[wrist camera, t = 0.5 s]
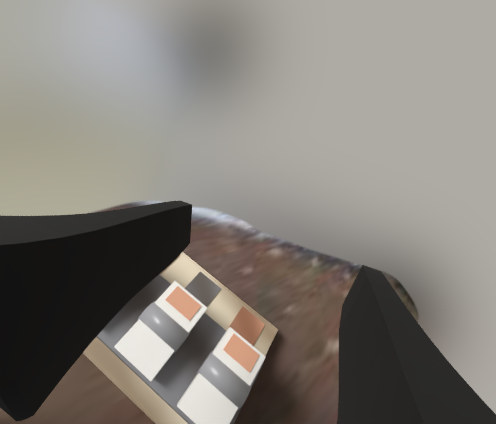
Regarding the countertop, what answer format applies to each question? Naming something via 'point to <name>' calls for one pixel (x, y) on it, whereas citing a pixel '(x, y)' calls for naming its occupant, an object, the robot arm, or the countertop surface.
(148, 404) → the switch unit
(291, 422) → the countertop surface
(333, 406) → the countertop surface
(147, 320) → the rocker middle
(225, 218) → the countertop surface
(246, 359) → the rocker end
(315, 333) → the countertop surface
